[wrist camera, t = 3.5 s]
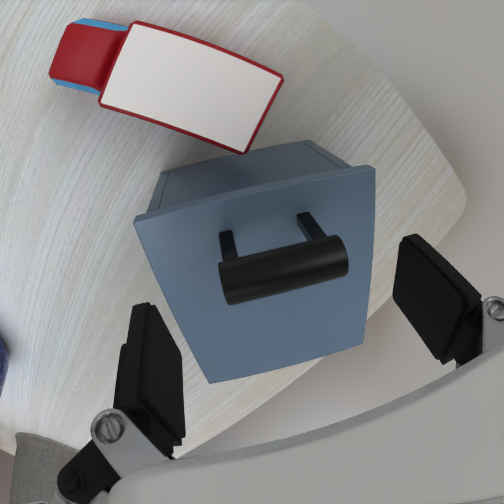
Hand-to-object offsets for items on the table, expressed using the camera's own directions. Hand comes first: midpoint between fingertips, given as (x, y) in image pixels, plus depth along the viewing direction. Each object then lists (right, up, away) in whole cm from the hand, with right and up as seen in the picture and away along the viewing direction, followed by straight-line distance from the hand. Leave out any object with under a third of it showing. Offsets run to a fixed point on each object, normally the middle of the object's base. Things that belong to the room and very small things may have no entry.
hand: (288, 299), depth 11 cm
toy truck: (-8, +15, +8) cm, 19 cm away
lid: (0, -1, +8) cm, 8 cm away
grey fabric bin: (-51, -53, +44) cm, 86 cm away
